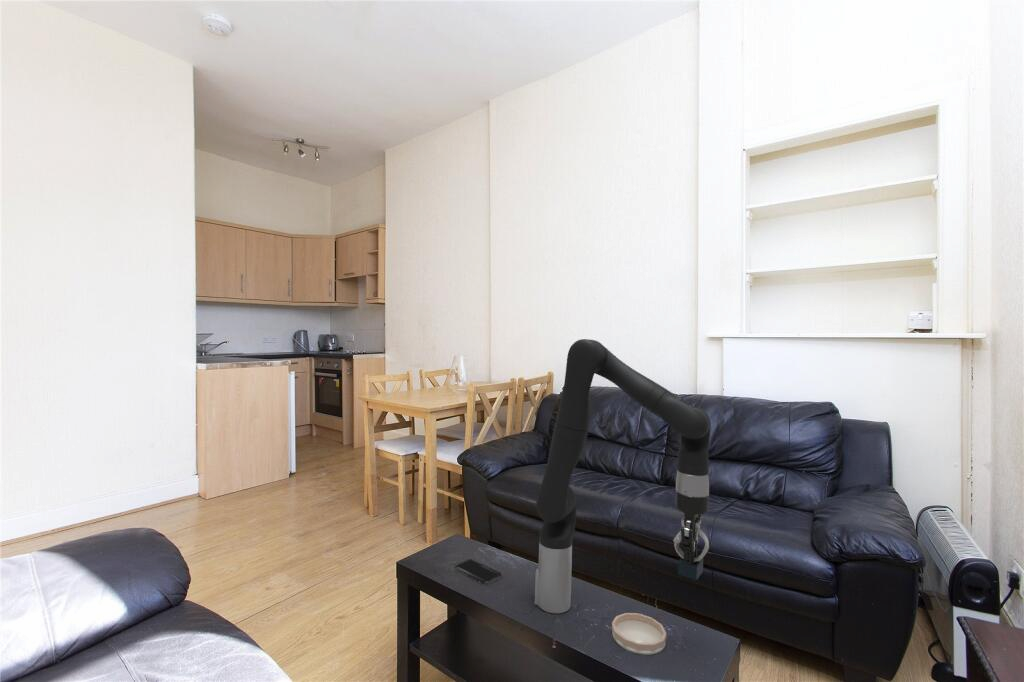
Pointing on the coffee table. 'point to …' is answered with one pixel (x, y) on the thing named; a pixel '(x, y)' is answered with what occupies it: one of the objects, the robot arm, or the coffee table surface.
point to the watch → (697, 568)
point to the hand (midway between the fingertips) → (690, 561)
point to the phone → (478, 571)
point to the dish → (638, 633)
